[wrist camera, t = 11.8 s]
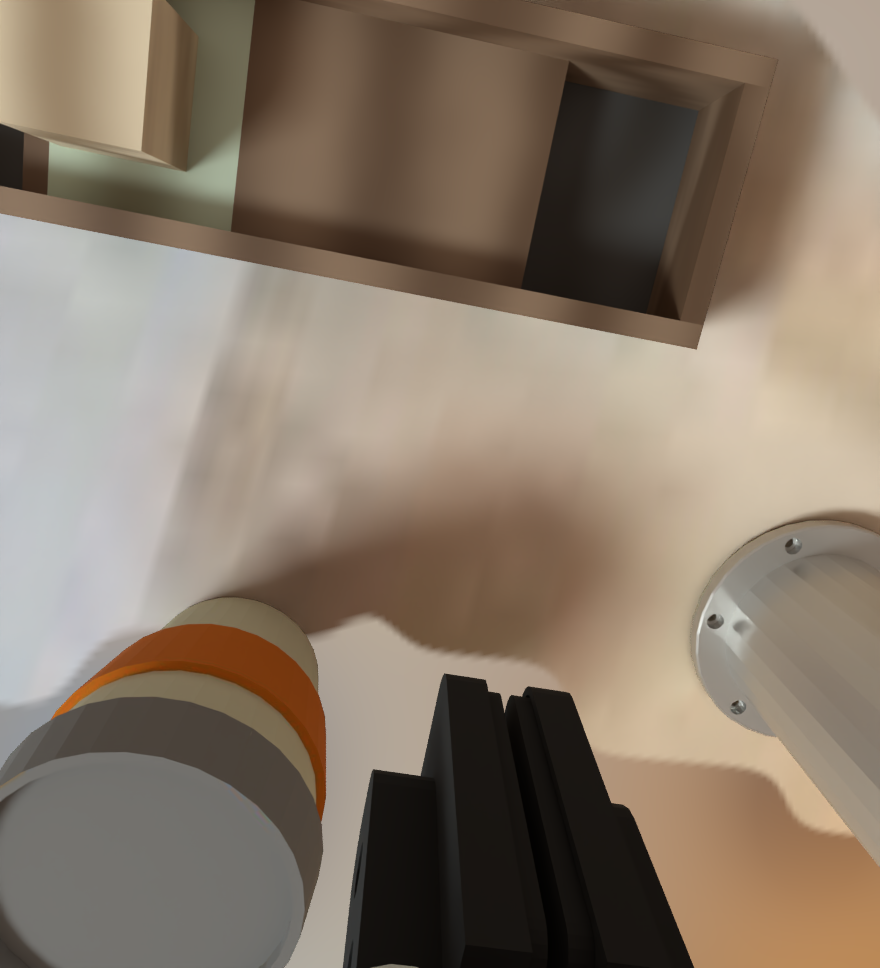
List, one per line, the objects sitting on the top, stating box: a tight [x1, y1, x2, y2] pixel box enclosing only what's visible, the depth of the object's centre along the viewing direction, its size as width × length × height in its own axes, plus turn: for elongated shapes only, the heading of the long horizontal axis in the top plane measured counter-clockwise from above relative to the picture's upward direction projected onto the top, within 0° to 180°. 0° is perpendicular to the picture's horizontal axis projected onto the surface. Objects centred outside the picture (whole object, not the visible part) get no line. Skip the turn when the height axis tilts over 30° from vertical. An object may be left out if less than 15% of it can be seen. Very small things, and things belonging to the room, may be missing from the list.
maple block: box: [0, 0, 199, 172], centre depth 26 cm, size 5×5×5 cm
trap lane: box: [0, 0, 778, 349], centre depth 30 cm, size 36×11×5 cm, turn 79°
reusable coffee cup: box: [0, 597, 326, 968], centre depth 32 cm, size 13×13×15 cm
